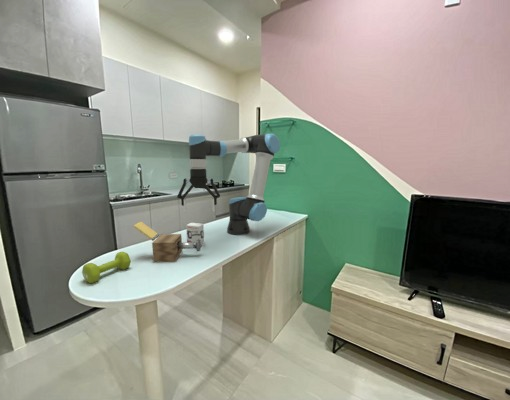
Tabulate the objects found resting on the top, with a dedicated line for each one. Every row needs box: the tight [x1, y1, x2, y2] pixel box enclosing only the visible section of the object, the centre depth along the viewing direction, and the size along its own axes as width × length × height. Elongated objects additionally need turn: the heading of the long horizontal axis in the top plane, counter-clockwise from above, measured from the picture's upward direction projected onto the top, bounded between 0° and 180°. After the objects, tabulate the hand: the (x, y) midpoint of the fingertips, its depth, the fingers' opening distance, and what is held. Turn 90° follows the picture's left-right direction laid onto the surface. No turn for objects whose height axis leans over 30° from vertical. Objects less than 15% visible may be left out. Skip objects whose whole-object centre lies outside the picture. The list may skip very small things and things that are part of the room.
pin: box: [177, 240, 202, 252], centre depth 109 cm, size 12×6×6 cm, turn 94°
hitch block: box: [151, 233, 183, 263], centre depth 108 cm, size 10×12×10 cm
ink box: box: [185, 222, 205, 247], centre depth 125 cm, size 8×5×12 cm, turn 73°
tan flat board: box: [132, 221, 160, 242], centre depth 106 cm, size 11×7×1 cm
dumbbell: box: [81, 251, 132, 284], centre depth 92 cm, size 16×8×7 cm, turn 151°
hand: (199, 211), depth 110 cm, fingers open, 13 cm apart
